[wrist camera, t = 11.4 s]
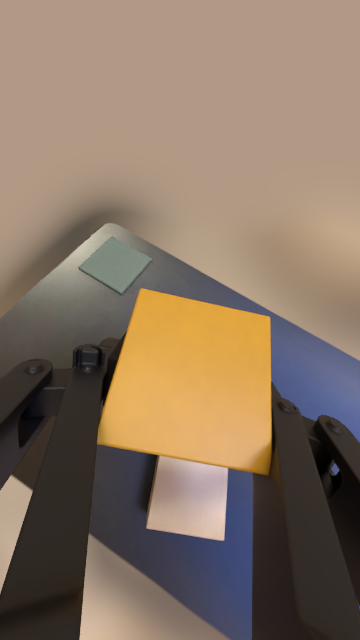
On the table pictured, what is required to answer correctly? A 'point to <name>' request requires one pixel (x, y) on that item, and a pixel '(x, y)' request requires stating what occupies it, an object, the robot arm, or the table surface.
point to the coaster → (116, 265)
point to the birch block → (188, 498)
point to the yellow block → (192, 384)
